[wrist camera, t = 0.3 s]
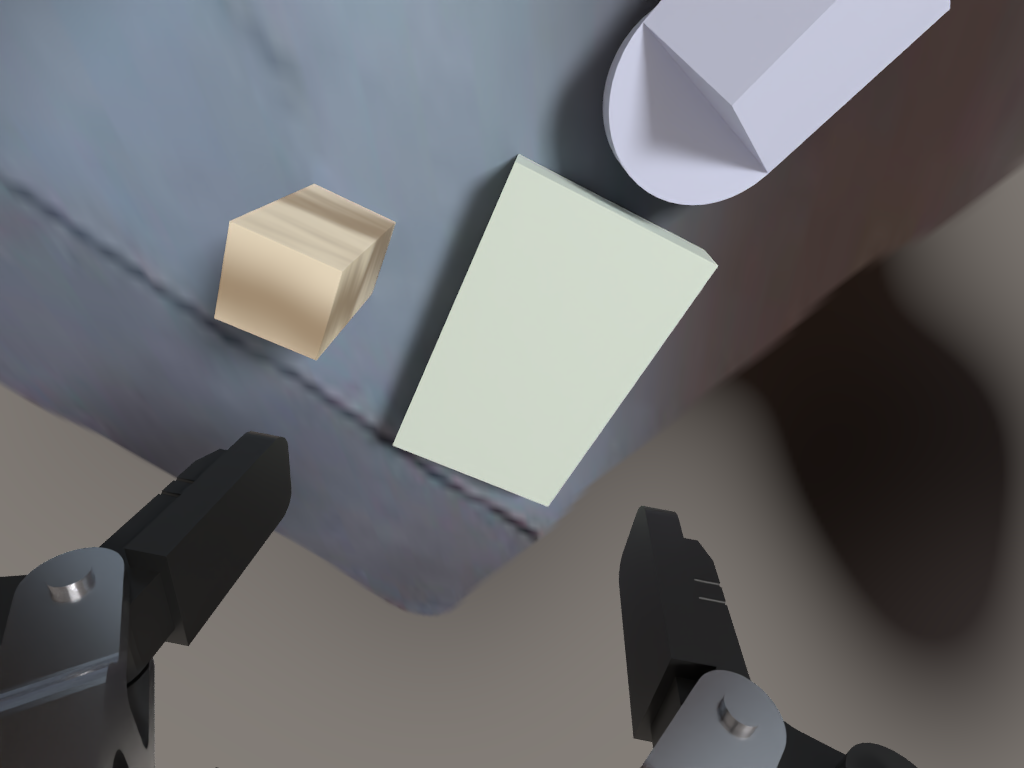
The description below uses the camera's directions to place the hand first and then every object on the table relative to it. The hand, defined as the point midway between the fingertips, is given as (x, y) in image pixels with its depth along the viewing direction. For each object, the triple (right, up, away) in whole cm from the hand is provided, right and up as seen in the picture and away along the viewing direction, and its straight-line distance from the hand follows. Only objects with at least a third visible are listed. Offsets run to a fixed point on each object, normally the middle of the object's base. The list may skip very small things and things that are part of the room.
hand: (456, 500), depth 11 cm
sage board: (+3, +5, +22) cm, 23 cm away
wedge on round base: (+12, +19, +14) cm, 26 cm away
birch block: (-9, +11, +20) cm, 24 cm away
